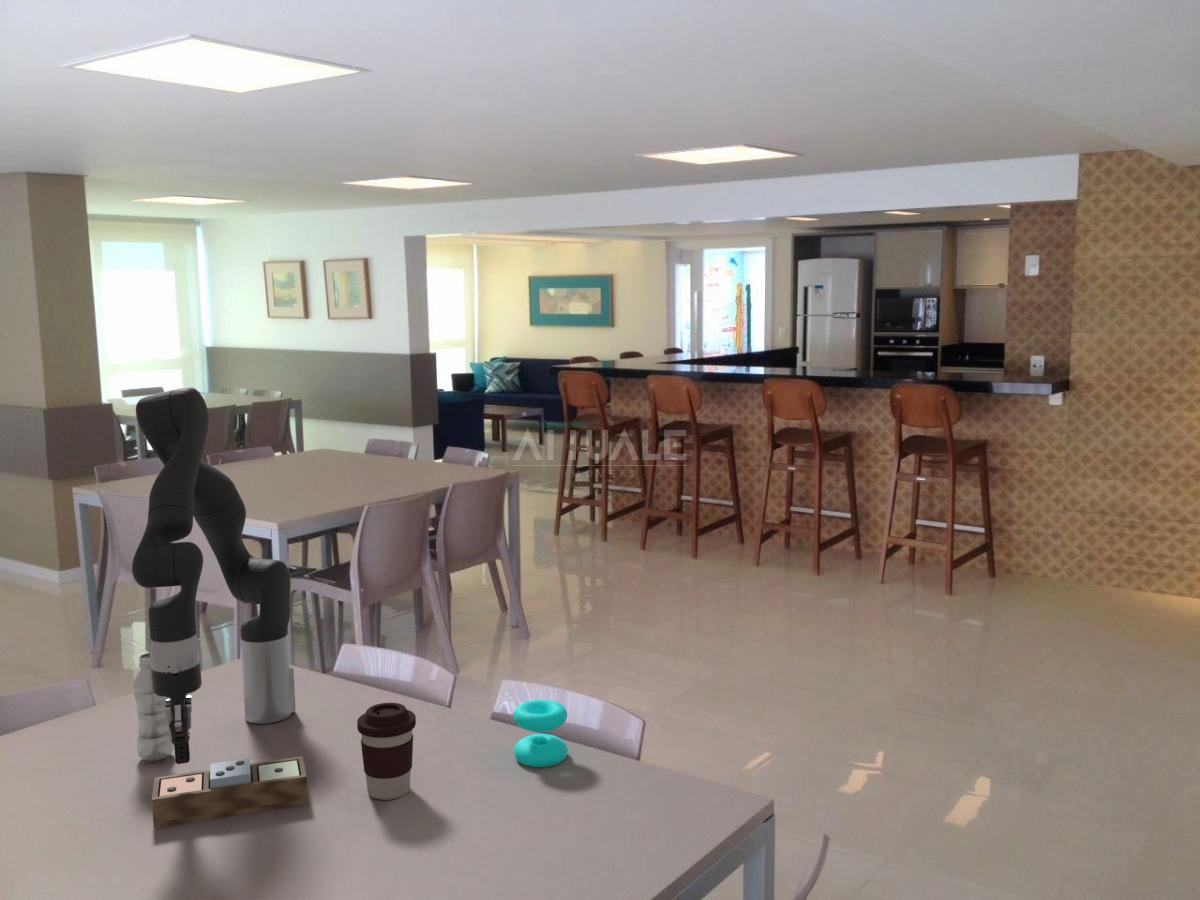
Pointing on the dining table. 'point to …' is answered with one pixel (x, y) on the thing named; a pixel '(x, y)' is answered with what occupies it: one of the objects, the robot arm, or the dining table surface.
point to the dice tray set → (229, 797)
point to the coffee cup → (387, 749)
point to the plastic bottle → (151, 716)
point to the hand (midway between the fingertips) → (182, 761)
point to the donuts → (540, 746)
